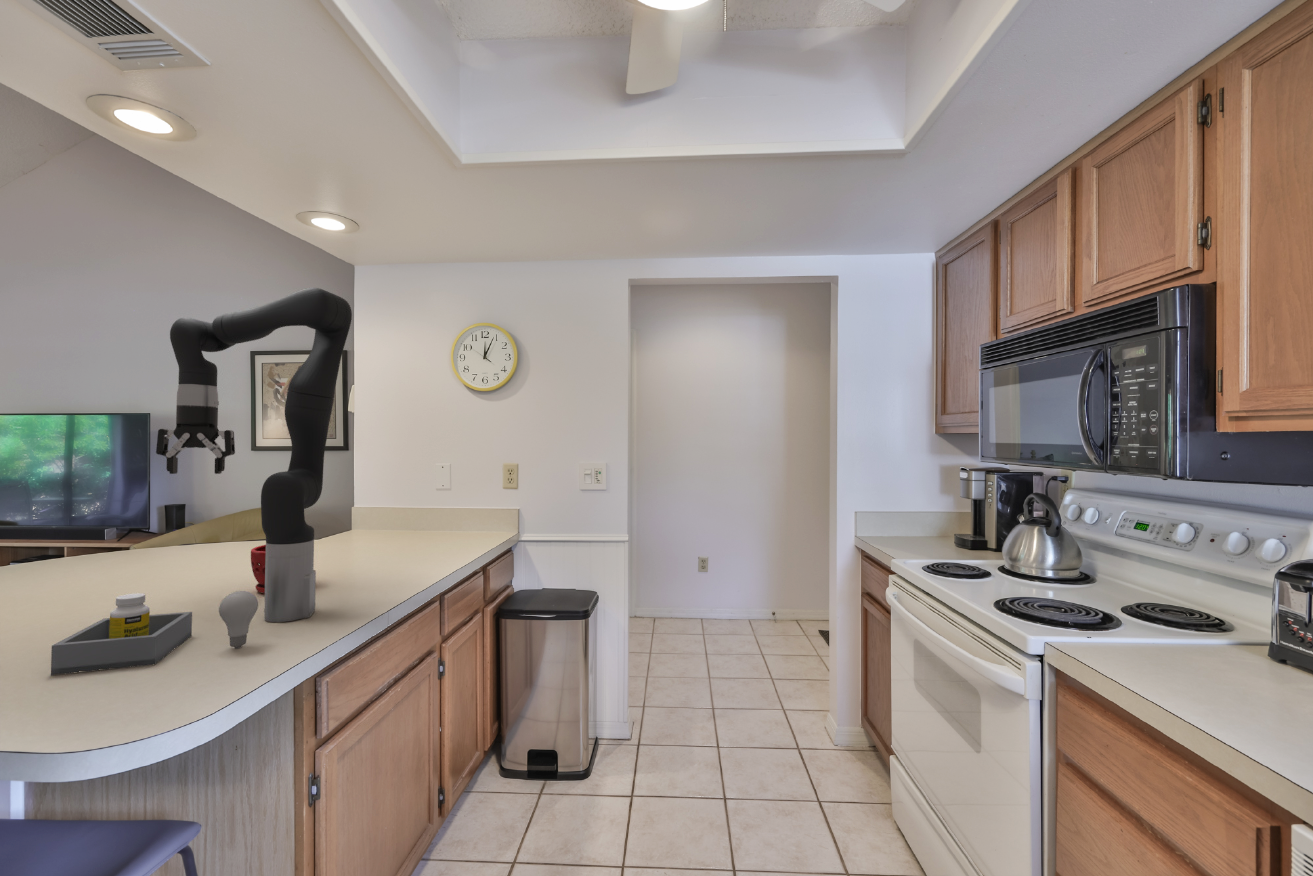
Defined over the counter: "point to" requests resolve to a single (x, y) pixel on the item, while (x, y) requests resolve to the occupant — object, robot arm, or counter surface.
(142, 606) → the supplement bottle
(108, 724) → the counter surface
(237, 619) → the lightbulb
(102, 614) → the counter surface
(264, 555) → the plant pot
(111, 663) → the tote
